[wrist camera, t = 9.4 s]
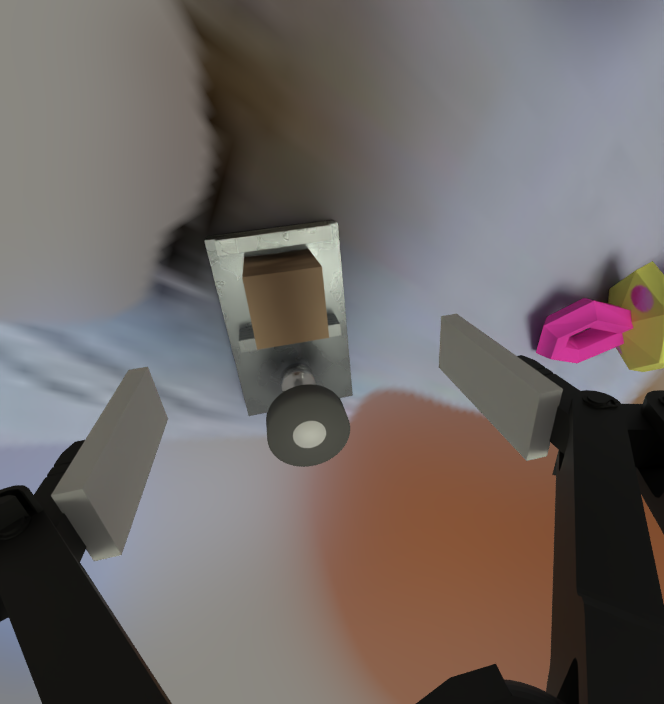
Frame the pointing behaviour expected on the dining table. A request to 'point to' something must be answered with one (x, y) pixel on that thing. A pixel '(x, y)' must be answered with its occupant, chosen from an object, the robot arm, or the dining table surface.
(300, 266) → the block
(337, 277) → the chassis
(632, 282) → the toy
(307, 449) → the wheel
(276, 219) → the dining table surface
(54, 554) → the robot arm
